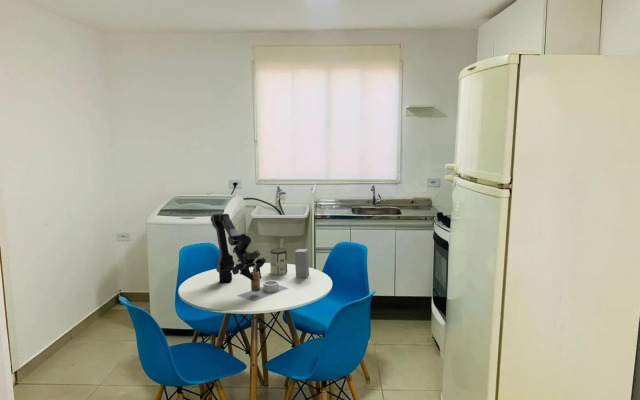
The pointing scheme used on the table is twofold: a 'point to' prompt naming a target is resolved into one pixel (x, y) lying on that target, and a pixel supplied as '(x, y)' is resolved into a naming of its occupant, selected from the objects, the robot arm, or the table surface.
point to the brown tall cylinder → (255, 281)
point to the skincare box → (301, 263)
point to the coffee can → (278, 261)
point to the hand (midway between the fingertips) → (257, 279)
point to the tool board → (264, 291)
